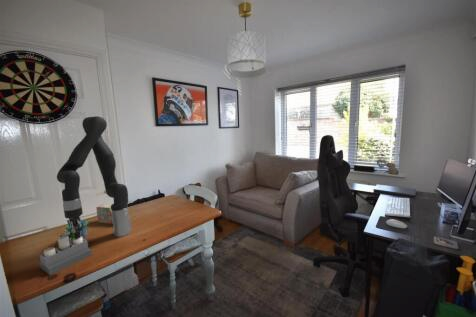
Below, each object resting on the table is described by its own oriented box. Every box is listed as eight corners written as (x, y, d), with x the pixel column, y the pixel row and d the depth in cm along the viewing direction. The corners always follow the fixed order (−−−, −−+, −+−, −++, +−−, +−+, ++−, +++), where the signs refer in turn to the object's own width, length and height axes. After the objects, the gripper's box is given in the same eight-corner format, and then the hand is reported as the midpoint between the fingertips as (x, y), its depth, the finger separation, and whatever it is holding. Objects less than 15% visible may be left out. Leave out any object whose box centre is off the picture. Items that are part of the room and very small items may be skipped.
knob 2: (81, 245, 117) (80, 235, 116) (85, 247, 115) (83, 237, 114) (72, 249, 113) (71, 238, 113) (76, 251, 111) (74, 240, 110)
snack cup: (75, 234, 138) (73, 219, 136) (93, 232, 140) (91, 217, 139) (62, 247, 123) (59, 231, 121) (83, 244, 125) (80, 228, 124)
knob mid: (67, 245, 111) (66, 234, 111) (71, 247, 109) (69, 236, 108) (58, 249, 108) (56, 238, 107) (61, 251, 106) (59, 240, 105)
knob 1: (54, 257, 107) (52, 246, 106) (58, 259, 105) (56, 248, 104) (44, 262, 103) (42, 250, 102) (47, 264, 101) (45, 252, 100)
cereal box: (128, 221, 156) (126, 205, 154) (122, 224, 150) (120, 208, 148) (105, 218, 161) (103, 203, 160) (98, 222, 155) (95, 206, 154)
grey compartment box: (81, 249, 120) (79, 236, 119) (91, 254, 114) (89, 241, 113) (39, 267, 105) (37, 253, 104) (49, 275, 99) (47, 260, 98)
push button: (76, 244, 125) (74, 229, 123) (77, 248, 121) (75, 232, 120) (62, 249, 120) (59, 233, 119) (62, 253, 117) (60, 236, 115)
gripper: (87, 207, 111) (91, 237, 113) (75, 203, 117) (79, 232, 120) (70, 212, 104) (75, 244, 107) (58, 207, 111) (63, 238, 113)
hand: (77, 238), depth 113 cm, fingers closed
